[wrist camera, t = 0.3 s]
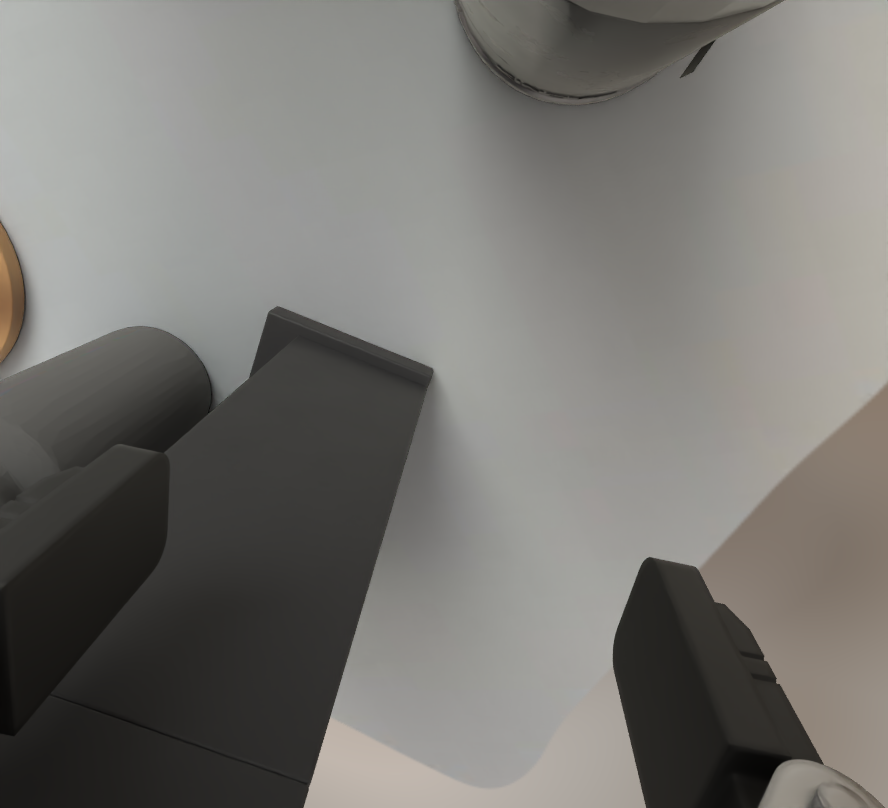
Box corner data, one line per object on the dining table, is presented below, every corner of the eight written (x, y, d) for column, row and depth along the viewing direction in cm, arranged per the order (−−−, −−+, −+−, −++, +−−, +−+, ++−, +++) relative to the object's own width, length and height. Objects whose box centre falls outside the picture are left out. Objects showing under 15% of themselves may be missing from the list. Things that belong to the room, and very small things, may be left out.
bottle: (115, 447, 31) (-196, 681, 17) (73, 333, 29) (-319, 491, 15) (227, 434, 30) (-1, 667, 16) (192, 316, 28) (-103, 465, 14)
